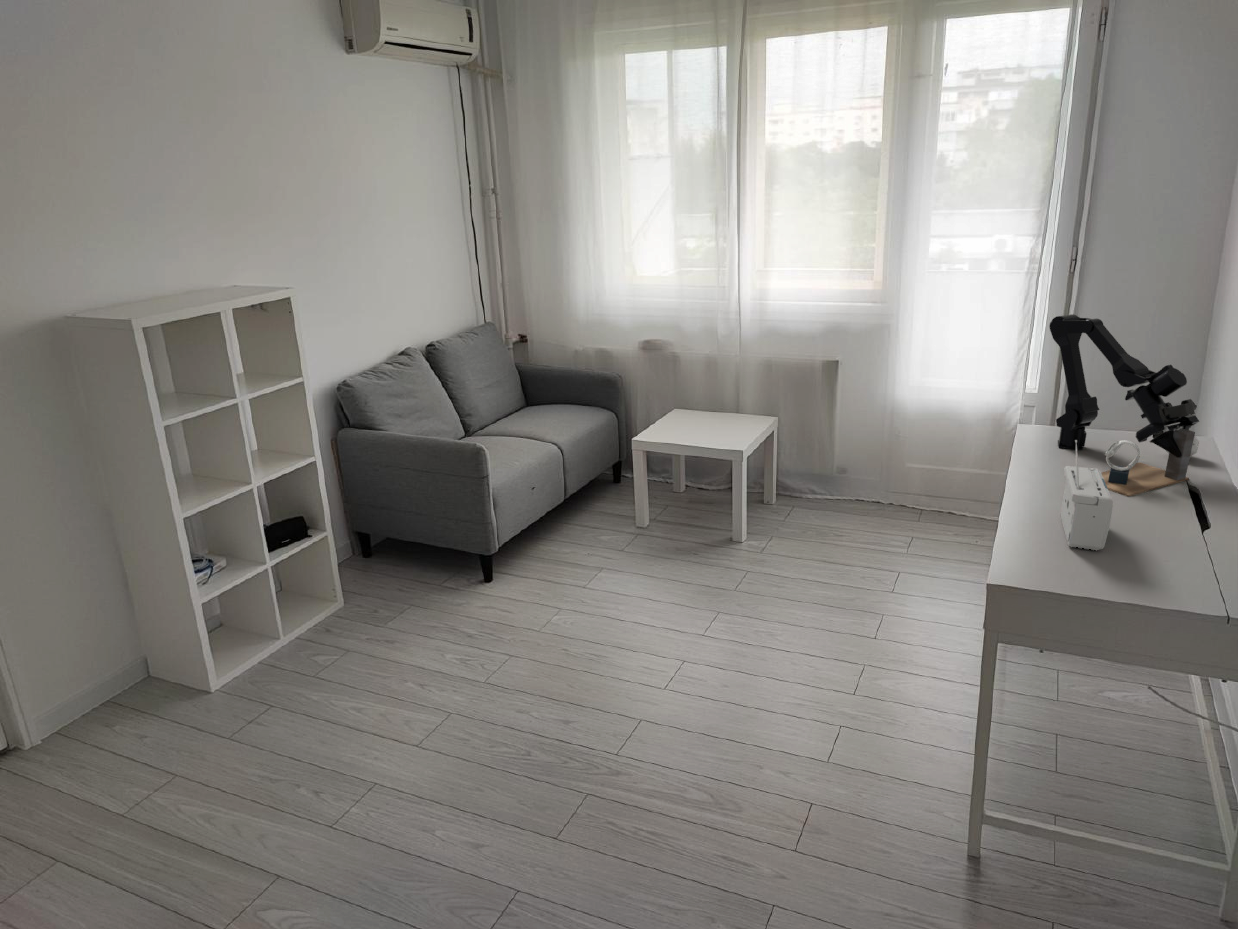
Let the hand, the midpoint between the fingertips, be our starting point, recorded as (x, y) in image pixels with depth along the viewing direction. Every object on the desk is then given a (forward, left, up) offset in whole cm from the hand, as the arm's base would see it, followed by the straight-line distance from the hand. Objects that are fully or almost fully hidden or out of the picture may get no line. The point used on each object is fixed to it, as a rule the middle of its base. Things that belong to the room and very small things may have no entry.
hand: (1184, 455), depth 235 cm
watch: (-15, -7, -7) cm, 18 cm away
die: (+3, +21, -7) cm, 23 cm away
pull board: (-11, -3, -7) cm, 13 cm away
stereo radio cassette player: (-26, -47, -7) cm, 54 cm away
